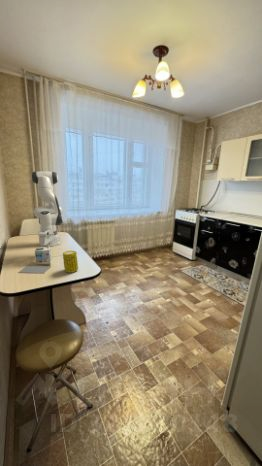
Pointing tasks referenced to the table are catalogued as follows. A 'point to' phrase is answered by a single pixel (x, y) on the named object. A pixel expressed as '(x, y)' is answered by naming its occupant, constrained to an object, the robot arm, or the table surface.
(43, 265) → the rail
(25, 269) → the mat
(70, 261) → the food
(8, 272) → the table surface
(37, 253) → the light bulb box
